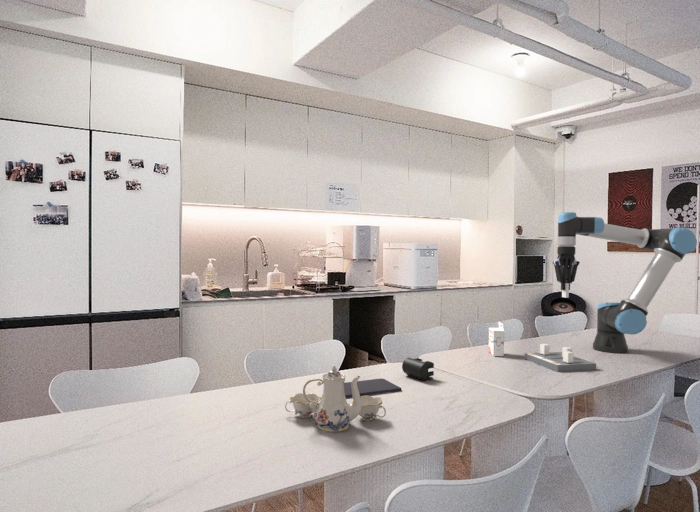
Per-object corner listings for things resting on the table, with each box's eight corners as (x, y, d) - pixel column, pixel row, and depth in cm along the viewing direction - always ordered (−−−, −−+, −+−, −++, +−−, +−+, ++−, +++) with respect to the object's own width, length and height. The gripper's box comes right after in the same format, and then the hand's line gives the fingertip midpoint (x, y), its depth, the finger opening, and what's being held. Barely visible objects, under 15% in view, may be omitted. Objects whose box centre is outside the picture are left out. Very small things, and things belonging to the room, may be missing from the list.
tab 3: (568, 360, 195) (568, 351, 195) (573, 362, 192) (573, 352, 192) (562, 361, 195) (563, 351, 195) (567, 362, 192) (568, 352, 192)
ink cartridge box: (487, 352, 222) (488, 320, 222) (498, 352, 222) (499, 321, 222) (492, 356, 213) (493, 323, 213) (504, 357, 213) (504, 324, 213)
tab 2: (567, 356, 204) (567, 346, 204) (572, 357, 201) (572, 348, 201) (562, 356, 203) (562, 347, 203) (566, 358, 200) (567, 348, 200)
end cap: (401, 376, 178) (401, 358, 178) (415, 373, 183) (415, 356, 182) (420, 382, 170) (420, 363, 170) (434, 379, 174) (434, 361, 174)
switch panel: (559, 357, 214) (559, 351, 214) (596, 369, 193) (596, 363, 193) (524, 358, 210) (524, 352, 210) (557, 371, 188) (557, 365, 188)
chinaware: (383, 418, 139) (383, 360, 140) (388, 434, 122) (389, 368, 123) (286, 417, 138) (288, 358, 140) (278, 433, 122) (280, 367, 123)
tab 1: (544, 352, 210) (545, 343, 210) (549, 354, 207) (549, 345, 207) (539, 353, 209) (540, 344, 209) (544, 354, 206) (544, 345, 206)
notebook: (343, 400, 151) (401, 392, 160) (343, 395, 151) (401, 387, 160) (328, 389, 162) (382, 382, 171) (328, 384, 162) (382, 378, 171)
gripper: (573, 246, 225) (571, 296, 225) (548, 245, 222) (547, 296, 222) (584, 246, 217) (583, 298, 218) (559, 245, 214) (558, 298, 215)
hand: (565, 297), depth 220 cm, fingers closed
